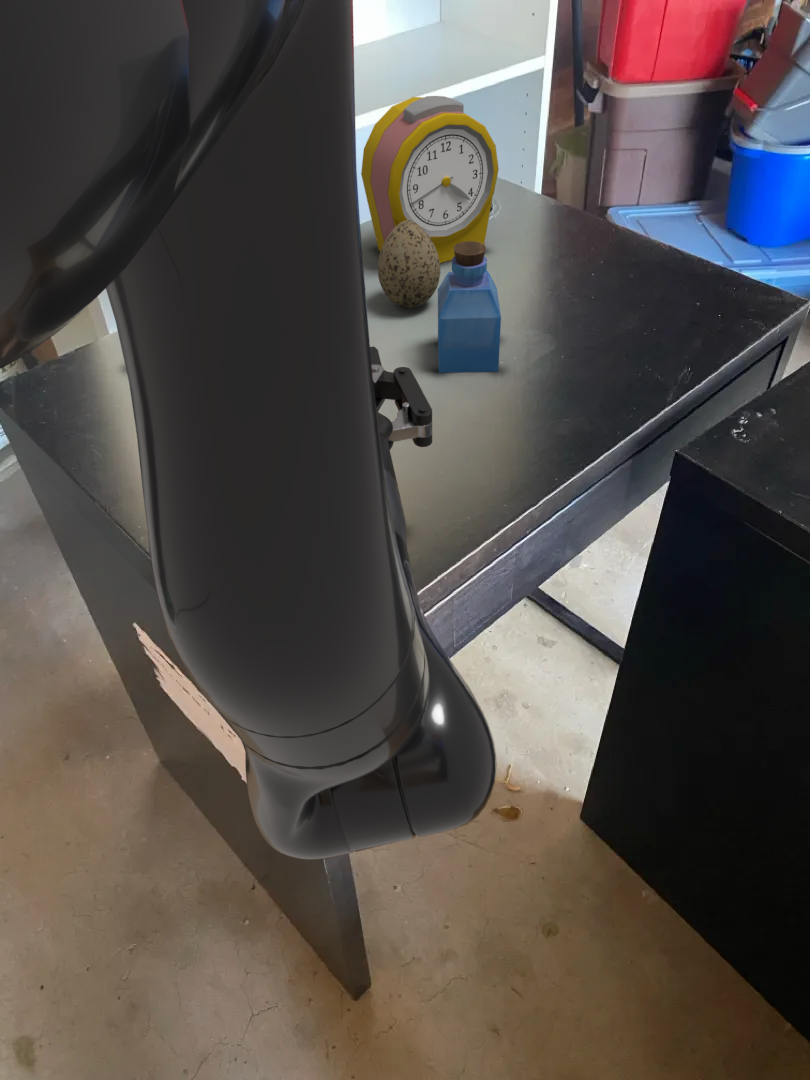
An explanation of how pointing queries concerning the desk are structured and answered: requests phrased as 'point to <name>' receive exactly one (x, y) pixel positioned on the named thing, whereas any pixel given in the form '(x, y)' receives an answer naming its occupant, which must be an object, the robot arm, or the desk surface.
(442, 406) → the desk surface
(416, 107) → the alarm clock
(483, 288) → the perfume bottle
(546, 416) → the desk surface
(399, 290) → the decorative egg
